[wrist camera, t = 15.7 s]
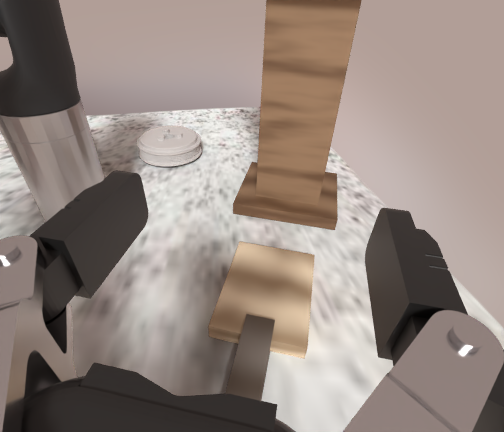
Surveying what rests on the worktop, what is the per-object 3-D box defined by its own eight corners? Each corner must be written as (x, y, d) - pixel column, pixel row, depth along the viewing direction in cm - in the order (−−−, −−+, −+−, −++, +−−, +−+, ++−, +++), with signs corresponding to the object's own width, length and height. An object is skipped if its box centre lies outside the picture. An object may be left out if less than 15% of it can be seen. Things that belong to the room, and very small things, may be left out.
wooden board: (288, 544, 20) (293, 538, 19) (151, 499, 22) (144, 491, 20) (312, 265, 41) (315, 252, 39) (239, 252, 42) (239, 238, 41)
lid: (211, 162, 62) (209, 139, 59) (148, 176, 57) (143, 152, 54) (190, 139, 71) (188, 117, 67) (134, 148, 66) (129, 126, 63)
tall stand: (334, 230, 46) (409, -47, 27) (233, 213, 49) (232, -53, 29) (334, 182, 57) (387, -39, 37) (251, 171, 59) (260, -44, 40)
